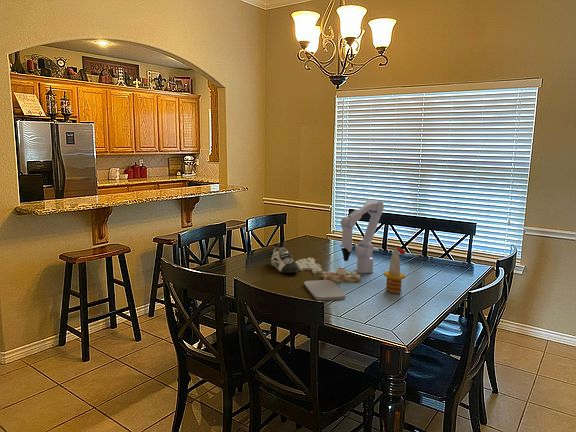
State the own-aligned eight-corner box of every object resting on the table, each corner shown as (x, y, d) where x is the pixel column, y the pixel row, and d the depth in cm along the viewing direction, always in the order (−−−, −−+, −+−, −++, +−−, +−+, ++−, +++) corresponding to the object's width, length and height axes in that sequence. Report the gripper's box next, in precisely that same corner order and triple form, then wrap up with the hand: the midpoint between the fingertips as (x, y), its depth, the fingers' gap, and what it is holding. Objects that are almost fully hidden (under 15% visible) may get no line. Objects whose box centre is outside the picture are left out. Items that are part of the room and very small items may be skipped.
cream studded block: (343, 272, 252) (344, 267, 251) (345, 275, 248) (346, 269, 247) (336, 272, 251) (336, 267, 251) (338, 275, 247) (338, 269, 247)
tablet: (331, 283, 242) (331, 279, 242) (347, 300, 217) (347, 296, 217) (302, 285, 239) (302, 281, 238) (316, 302, 214) (316, 297, 213)
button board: (355, 276, 256) (355, 271, 256) (360, 281, 246) (360, 276, 246) (321, 276, 254) (322, 271, 253) (325, 281, 244) (325, 276, 244)
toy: (411, 264, 215) (391, 245, 224) (390, 299, 227) (372, 279, 237) (422, 262, 220) (403, 243, 229) (401, 296, 233) (383, 277, 242)
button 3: (333, 277, 252) (333, 271, 251) (335, 279, 247) (335, 273, 247) (326, 277, 251) (326, 271, 251) (327, 279, 247) (327, 273, 246)
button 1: (353, 277, 253) (354, 271, 253) (355, 279, 249) (356, 273, 248) (346, 277, 253) (346, 271, 252) (348, 279, 248) (348, 273, 248)
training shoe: (286, 277, 251) (287, 255, 249) (264, 264, 276) (265, 244, 274) (303, 275, 256) (303, 253, 254) (280, 262, 281) (280, 243, 279)
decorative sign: (290, 258, 286) (312, 257, 289) (290, 261, 286) (312, 260, 290) (301, 271, 257) (326, 270, 260) (301, 275, 257) (326, 274, 260)
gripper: (337, 235, 259) (336, 257, 261) (343, 240, 245) (342, 264, 247) (348, 235, 260) (347, 257, 262) (355, 240, 246) (354, 264, 248)
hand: (345, 260), depth 255 cm, fingers closed
